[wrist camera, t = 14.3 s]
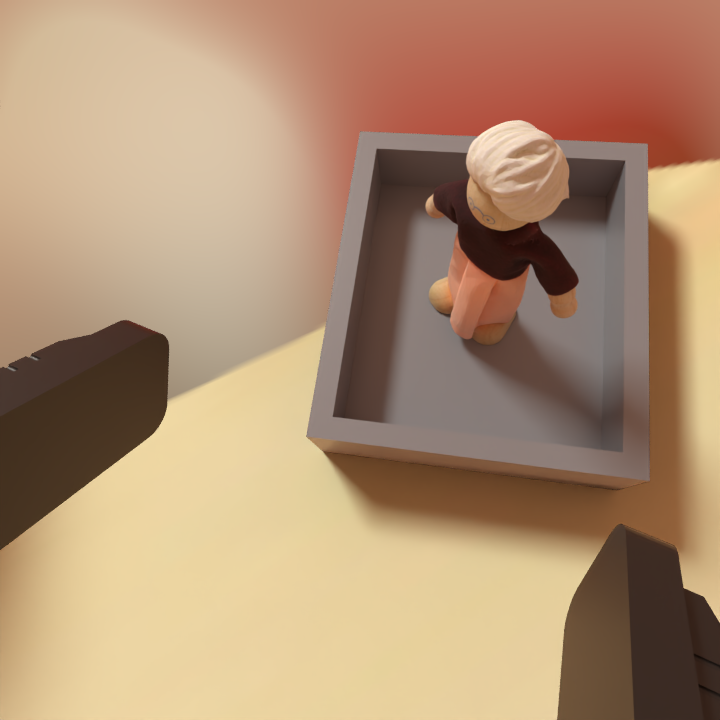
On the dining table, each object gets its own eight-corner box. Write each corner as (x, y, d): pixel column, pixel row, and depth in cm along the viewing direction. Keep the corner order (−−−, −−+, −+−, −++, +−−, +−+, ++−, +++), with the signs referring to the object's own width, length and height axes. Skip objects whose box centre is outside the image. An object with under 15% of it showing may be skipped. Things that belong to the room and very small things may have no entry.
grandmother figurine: (396, 305, 29) (375, 137, 17) (436, 249, 30) (443, 49, 18) (529, 384, 27) (612, 255, 15) (568, 321, 28) (678, 151, 16)
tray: (620, 193, 31) (647, 143, 27) (617, 490, 26) (649, 481, 22) (367, 179, 33) (360, 131, 29) (322, 450, 28) (306, 436, 24)
